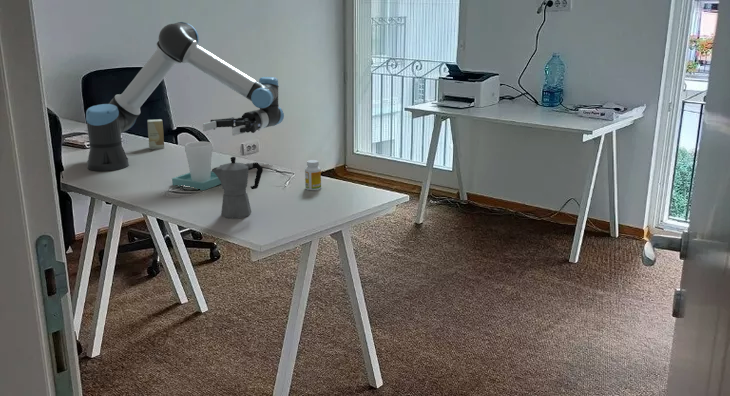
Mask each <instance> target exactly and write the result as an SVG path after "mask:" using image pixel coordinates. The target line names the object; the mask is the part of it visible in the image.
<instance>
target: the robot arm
mask: <svg viewBox="0 0 730 396" xmlns="http://www.w3.org/2000/svg"><path fill="white" fill-rule="evenodd" d="M199 40H200V39H199V33H198V31H197V30H196V28H195V27H194V26H193V25H192V24H190V23H188V22H184V21H177V22H175V23H169V24H166V25H165V26H163V27H162V29H161V30H160V31H159V34H158V41H157V42H156V43H155V44H156V50H155V51H154V52H153V54H152V55H151V56H150V58H149V59H148V60H147V61H146V62H145V64H144V65H143V66H142V68H141V69H140V70H139V71H138V73H137V74H136V75H135V76H134V78H133V79H132V81H131V82H130V83H129V84H128V85H127V87H126V88H125V89H124V91H123V92H122V93H121V94H120V93H119V94H115V95H114V96H113V98H112V99H111V100H110V101H109V102H108V103H102V104H96V105H92V106H90V107H88V108H87V109H86V111H85V121H86V127H87V135H88V140H89V141H88V143H89V151H88V152H89V153H88V157H87V158H88V159H87V161H86V165H87V169H88V170H90V171H94V172H106V171H116V170H121V169H124V168H127V167H128V166H129V158H128V157H127V154H126V152H125V150H124V147H123V142H122V133H124V132H127V131H129V130H130V129H132V127H133V126H134V125H135V123H136V121H137V118H138V117H139V116H140V114H141V107H142V106H143V104H144V103H145V102H146V101H147V99H148V98H149V97H150V96H151V95H152V93H153V92H154V91H155V90H156V89H157V87H158V86H159V84H161V82H162V81H163V80H164V78H166V76H167V75H168V74H169V72H170V71H171V70H172V69H173V67H175V65H176V64H188V65H189V64H190V65H191V66H193V67H195V68H196V69H198V70H200V71H201V72H202V73H204V74H205V75H208V76H209V77H211V78H213V79H214V80H215V81H218V82H219V83H221V84H223V85H224V86H226V87H228V88H229V89H231V90H232V91H234V92H236V93H238V94H239V95H241V96H242V97H244V98H246V99H247V100H248V101H250V102H251V103H252V105H253V106H254V107H256V108H258V109H254V110H251V111H246V112H244V113H243V114H242V115H241V117H234V116H233V117H228V118H215V119H210V121H209V122H204V123H202V131H203V132H206V131H210V130H211V131H212V130H216V129H217V128H232V129H231V131H232V132H231V133H232V136H237V135H242V134H244V133H245V134H246V133H247V134H248V133H251V134H254V133H256V131H261V130H262V129H265V128H270V127H274V126H275V127H276V126H277V125H279V124H281V123H282V122H284V121H283V120H284V117H285V113H284V112H283V109H282V108H281V106H279V87H280V86H279V79H278V78H277V77H273V76H262V77H260V78H259V79H258V81H257V80H256V79H254V78H253V77H251V76H249V75H247V74H246V73H244V72H243V71H241V70H239V69H238V68H236V67H235V66H233V65H231V64H230V63H228V62H226V61H225V60H223V59H222V58H220V57H219V56H217V55H215V54H214V53H212V52H211V51H209V50H207V49H205V48H204V47H202V46H200V45H199V42H200V41H199Z"/></svg>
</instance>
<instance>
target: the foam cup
mask: <svg viewBox="0 0 730 396" xmlns="http://www.w3.org/2000/svg"><path fill="white" fill-rule="evenodd" d="M213 150H214V149H213V143H212V142H209V141H192V142H187V143H185V144H184V152H185V156H186V159H187V164H188V169H189V173H190V174H191V179H192V181H197V182H205V181H208V180H210V175H211V171H212V157H213V155H212V154H213Z"/></svg>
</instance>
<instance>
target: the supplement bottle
mask: <svg viewBox="0 0 730 396" xmlns="http://www.w3.org/2000/svg"><path fill="white" fill-rule="evenodd" d="M319 163H320V162H319V160H318V159H316V160H315V159H309V160H307V161H306V167H305V168H304V178H305V179H304V180H305V182H304V184H305V189H306V190H307V191H319V190H320V189H322V175H321V174H322V171H321V170H322V169H321V167H320V166H319V165H320V164H319Z"/></svg>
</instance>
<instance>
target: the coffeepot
mask: <svg viewBox="0 0 730 396" xmlns="http://www.w3.org/2000/svg"><path fill="white" fill-rule="evenodd" d="M236 159H237V157H235V156H231V157H230V162H229V163H225V164H220V166H217V167H214V168H211V171H212V172H214V173H215V174H216V175H217V177H218V178H219V180H220V181H221V184H220V185H221V188H222V189H223V195H222V204H221V212H220V213H221V214H220V215H221V216H222V217H223V218H226V219H232V220H233V219H243V218H246V217H249V216H250V215H252V214H251V213H252V209H251V203H250V199H249V196H248V193H247V187H248V181H249V180H248V179H249V171H251V170H255V169H256V174H255V178H254V184H253V185H252V186H250V189H251V190H256V189H258V187H259V184H260V180H261V178H262V174H263V171H264V170H263V169H264V168H263V167H262V165H261V164H259V163H258V162H249V163H248V162H247V163H242V162H236Z"/></svg>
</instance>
